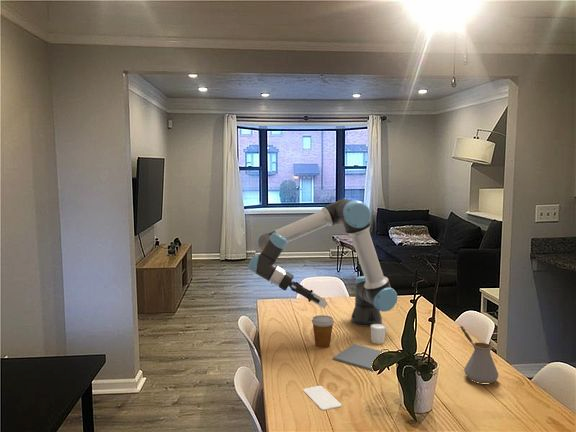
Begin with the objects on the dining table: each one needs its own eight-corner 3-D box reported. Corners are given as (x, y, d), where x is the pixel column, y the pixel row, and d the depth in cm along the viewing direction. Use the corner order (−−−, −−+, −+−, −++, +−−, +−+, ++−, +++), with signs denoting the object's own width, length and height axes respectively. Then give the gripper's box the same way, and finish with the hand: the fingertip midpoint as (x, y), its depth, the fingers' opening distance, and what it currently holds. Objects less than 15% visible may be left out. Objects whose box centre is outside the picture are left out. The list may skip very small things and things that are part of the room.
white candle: (366, 341, 202) (367, 326, 201) (375, 337, 207) (375, 322, 206) (380, 345, 197) (380, 329, 197) (388, 341, 202) (389, 325, 202)
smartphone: (321, 385, 160) (342, 405, 146) (321, 387, 160) (342, 407, 146) (302, 389, 157) (322, 409, 143) (302, 391, 157) (322, 412, 143)
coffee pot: (505, 386, 161) (507, 345, 159) (474, 388, 159) (476, 346, 157) (472, 361, 182) (473, 324, 180) (445, 362, 180) (446, 325, 178)
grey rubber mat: (353, 345, 197) (354, 343, 197) (393, 355, 186) (393, 353, 186) (332, 359, 182) (332, 357, 182) (373, 371, 172) (373, 369, 172)
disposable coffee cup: (328, 340, 203) (328, 314, 202) (337, 348, 194) (337, 320, 193) (308, 342, 200) (308, 316, 199) (316, 350, 191) (316, 323, 190)
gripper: (278, 284, 207) (318, 308, 206) (276, 288, 183) (322, 315, 182) (286, 270, 208) (327, 293, 207) (286, 272, 183) (331, 299, 182)
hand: (325, 304), depth 194 cm, fingers open, 13 cm apart
